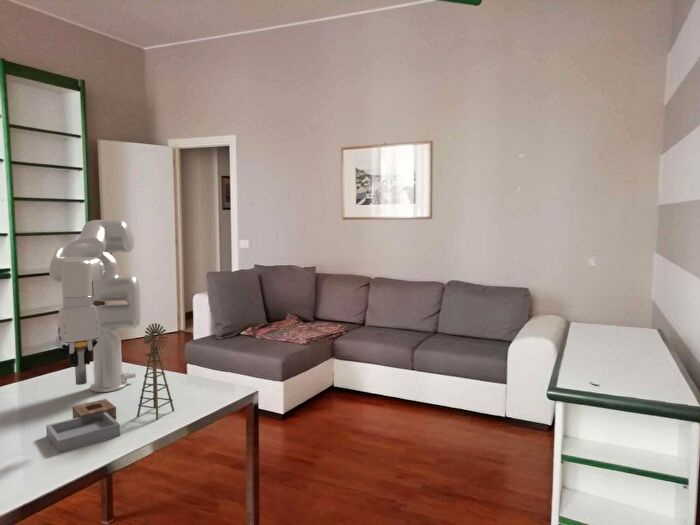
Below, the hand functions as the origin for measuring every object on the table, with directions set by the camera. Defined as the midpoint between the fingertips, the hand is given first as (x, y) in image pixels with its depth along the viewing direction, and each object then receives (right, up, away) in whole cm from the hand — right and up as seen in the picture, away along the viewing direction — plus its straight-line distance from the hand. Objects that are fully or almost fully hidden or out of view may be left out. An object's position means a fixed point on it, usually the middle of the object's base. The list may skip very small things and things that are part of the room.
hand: (80, 364), depth 140 cm
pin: (0, -6, 0) cm, 6 cm away
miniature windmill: (+15, -20, +18) cm, 31 cm away
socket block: (-3, -20, +14) cm, 25 cm away
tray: (0, -21, +2) cm, 22 cm away
